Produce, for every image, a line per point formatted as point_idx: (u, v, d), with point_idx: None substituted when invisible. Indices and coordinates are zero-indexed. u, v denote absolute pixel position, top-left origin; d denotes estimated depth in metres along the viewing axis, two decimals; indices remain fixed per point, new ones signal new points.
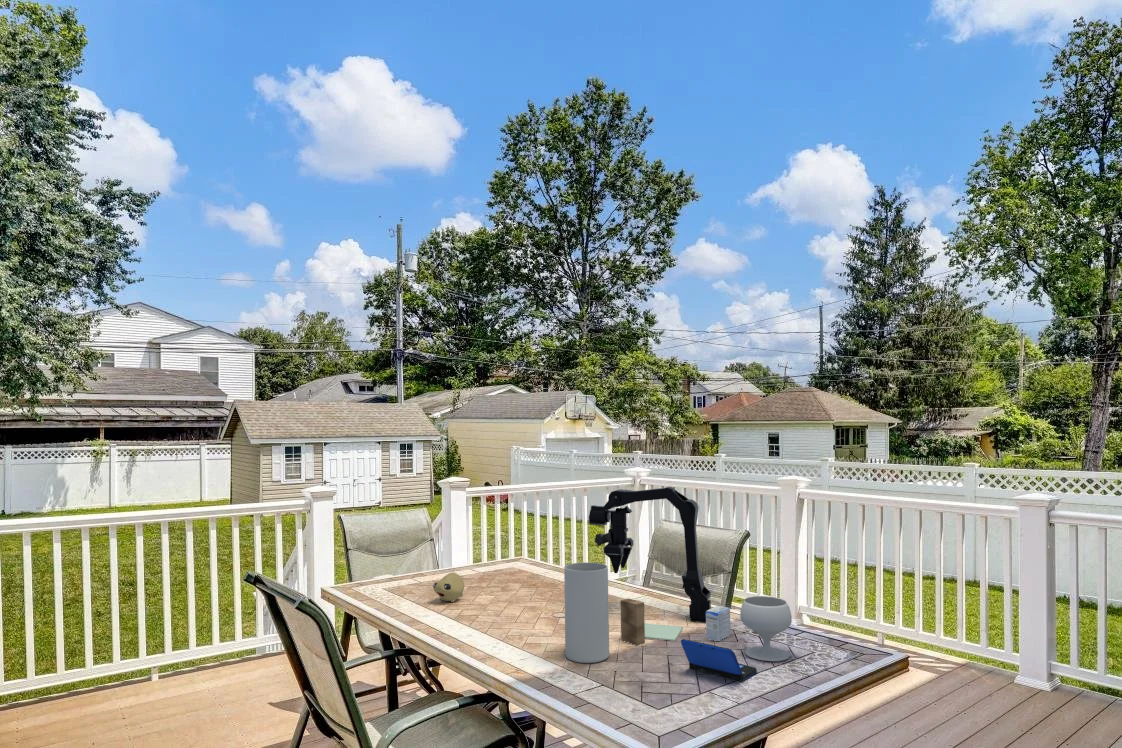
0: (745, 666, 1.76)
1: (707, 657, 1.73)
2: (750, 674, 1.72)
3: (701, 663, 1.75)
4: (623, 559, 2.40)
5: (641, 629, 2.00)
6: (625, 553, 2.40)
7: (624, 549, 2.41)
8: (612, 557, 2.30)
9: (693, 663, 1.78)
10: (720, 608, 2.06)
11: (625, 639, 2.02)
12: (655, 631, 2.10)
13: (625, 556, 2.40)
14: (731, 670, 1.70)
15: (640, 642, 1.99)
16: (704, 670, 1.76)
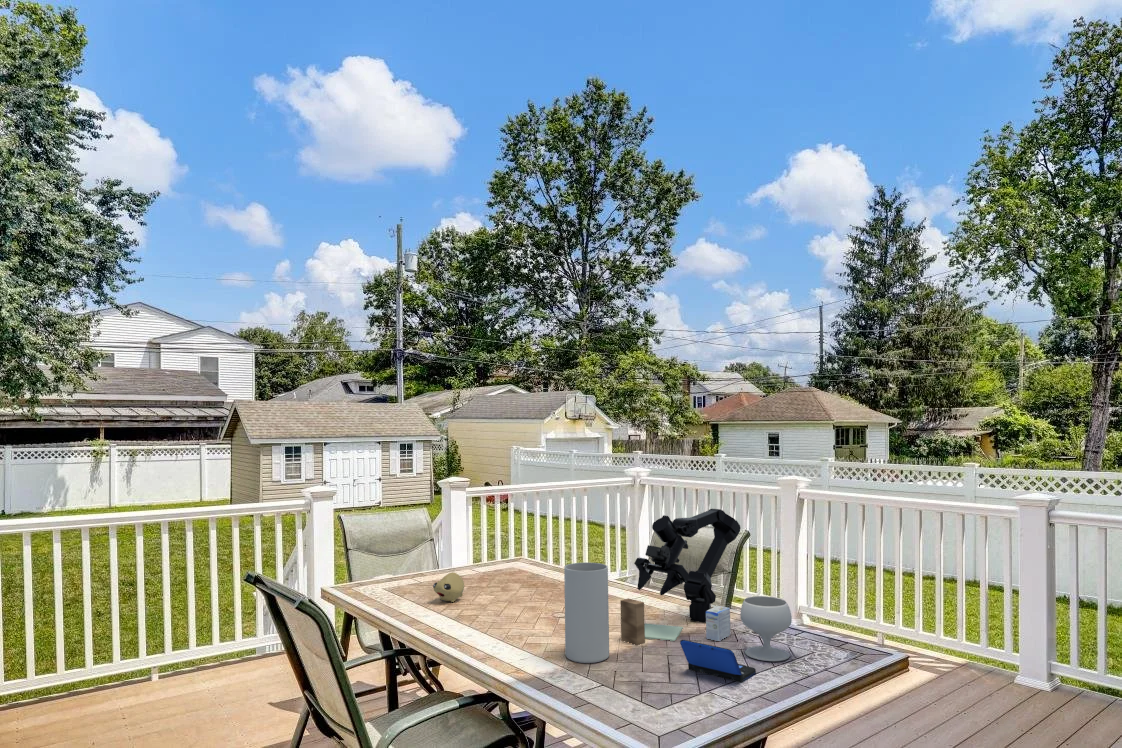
0: (744, 666, 1.76)
1: (706, 657, 1.72)
2: (749, 674, 1.72)
3: (700, 663, 1.75)
4: (643, 582, 2.14)
5: (641, 629, 2.00)
6: (646, 577, 2.15)
7: (647, 573, 2.16)
8: (671, 578, 2.07)
9: (692, 663, 1.77)
10: (720, 608, 2.06)
11: (625, 639, 2.02)
12: (655, 631, 2.10)
13: (645, 580, 2.15)
14: (730, 671, 1.70)
15: (640, 642, 1.99)
16: (703, 670, 1.75)
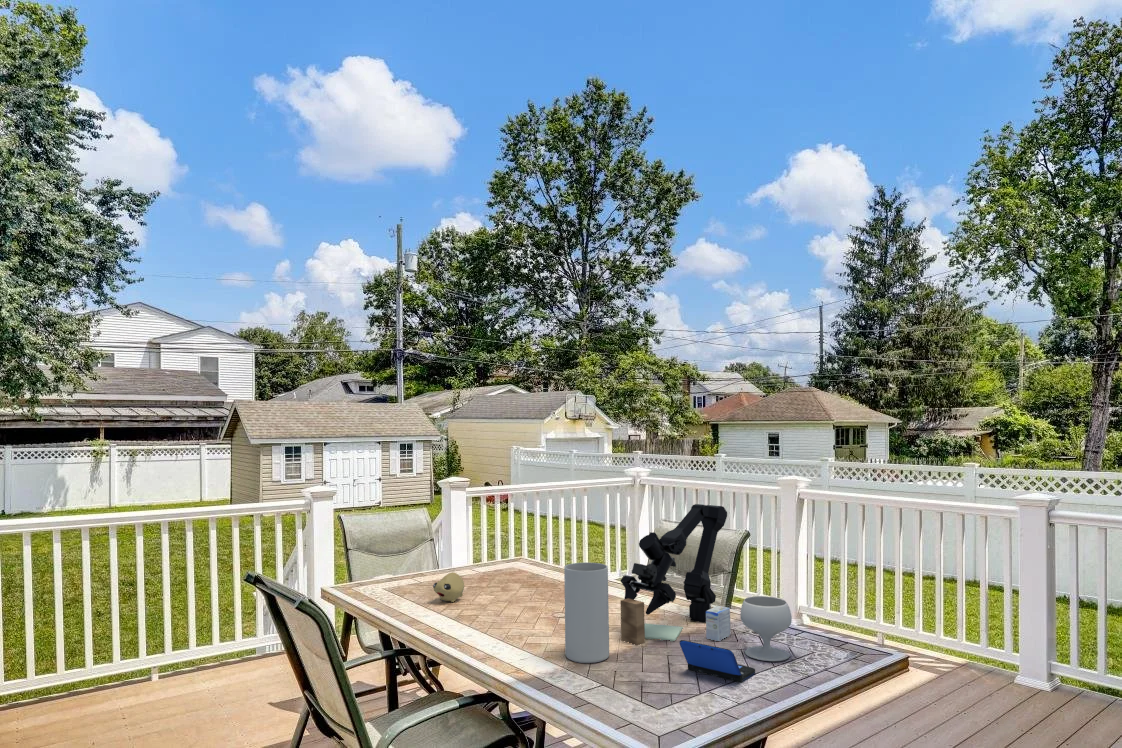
0: (744, 667, 1.76)
1: (705, 657, 1.72)
2: (749, 675, 1.71)
3: (700, 664, 1.75)
4: None
5: (641, 629, 2.00)
6: (632, 596, 2.10)
7: (633, 591, 2.11)
8: (657, 597, 2.02)
9: (692, 664, 1.77)
10: (720, 608, 2.06)
11: (625, 639, 2.02)
12: (655, 631, 2.10)
13: None
14: (730, 671, 1.69)
15: (640, 642, 1.99)
16: (703, 671, 1.75)
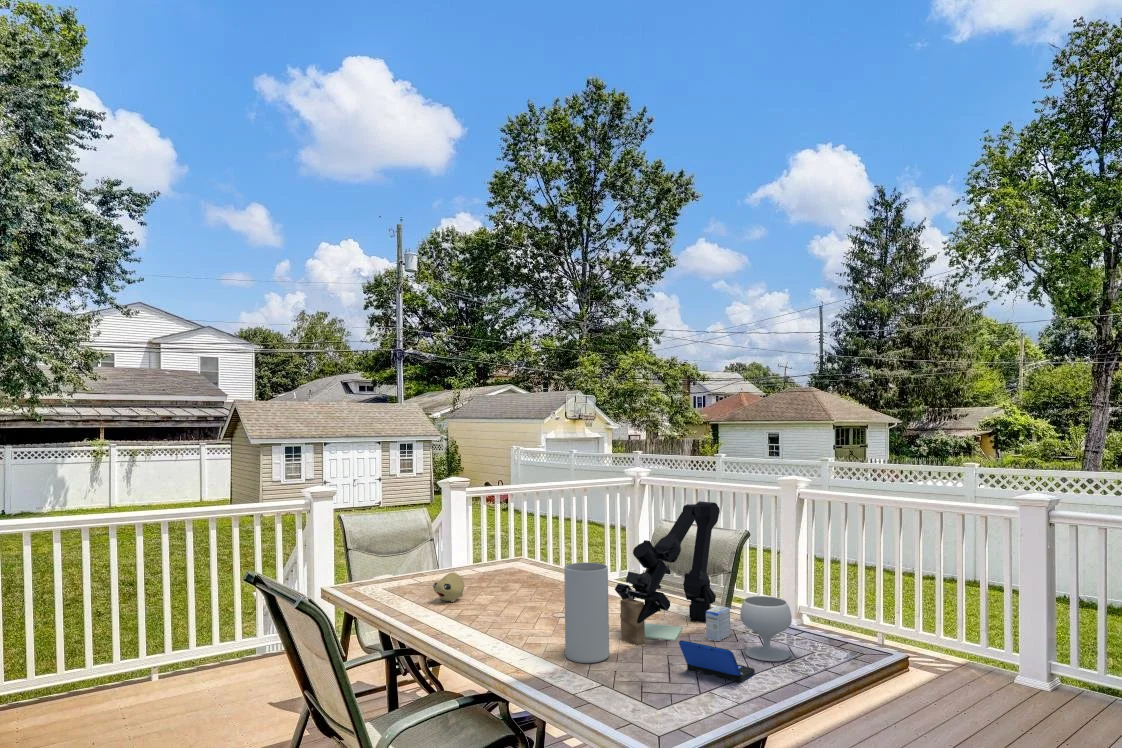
0: (743, 667, 1.76)
1: (705, 658, 1.72)
2: (748, 675, 1.71)
3: (699, 664, 1.75)
4: None
5: (641, 629, 2.00)
6: None
7: None
8: (648, 606, 2.01)
9: (691, 664, 1.77)
10: (720, 608, 2.06)
11: (625, 639, 2.02)
12: (655, 631, 2.10)
13: None
14: (729, 671, 1.69)
15: (640, 642, 1.99)
16: (702, 671, 1.75)
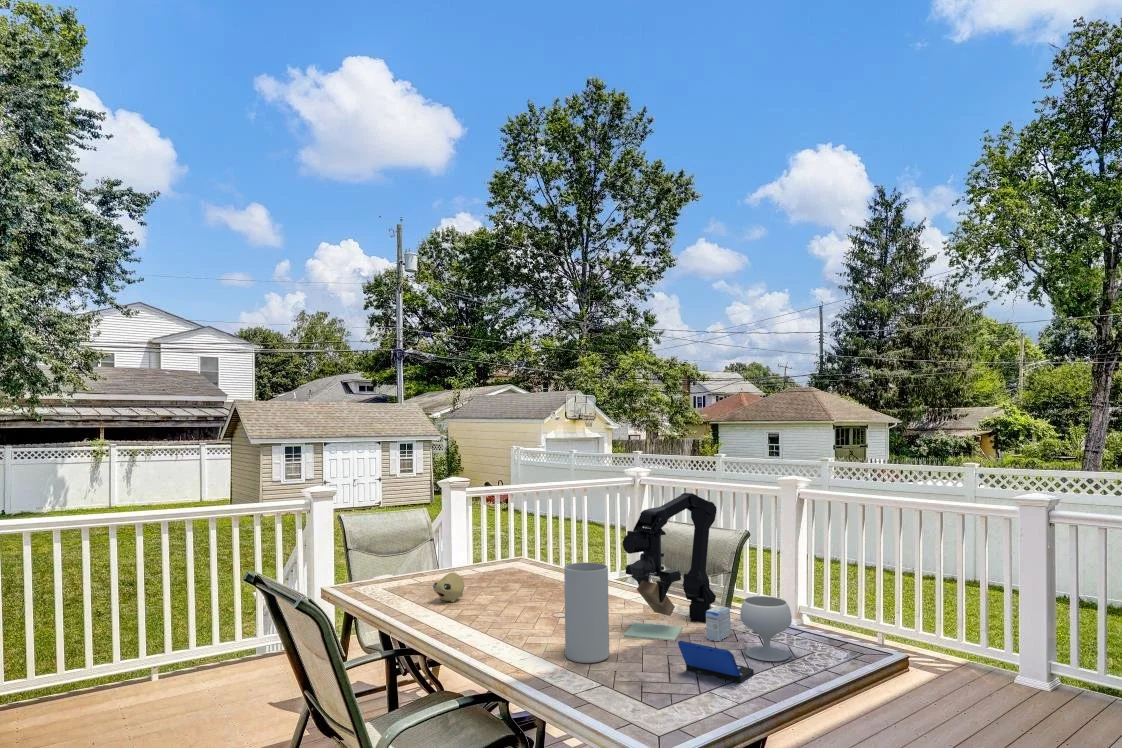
0: (742, 667, 1.75)
1: (704, 658, 1.72)
2: (748, 675, 1.71)
3: (698, 665, 1.74)
4: None
5: (666, 602, 2.11)
6: None
7: (644, 577, 2.16)
8: None
9: (690, 665, 1.76)
10: (720, 608, 2.06)
11: (657, 612, 2.15)
12: (655, 631, 2.10)
13: None
14: (729, 672, 1.69)
15: (671, 611, 2.12)
16: (701, 672, 1.74)
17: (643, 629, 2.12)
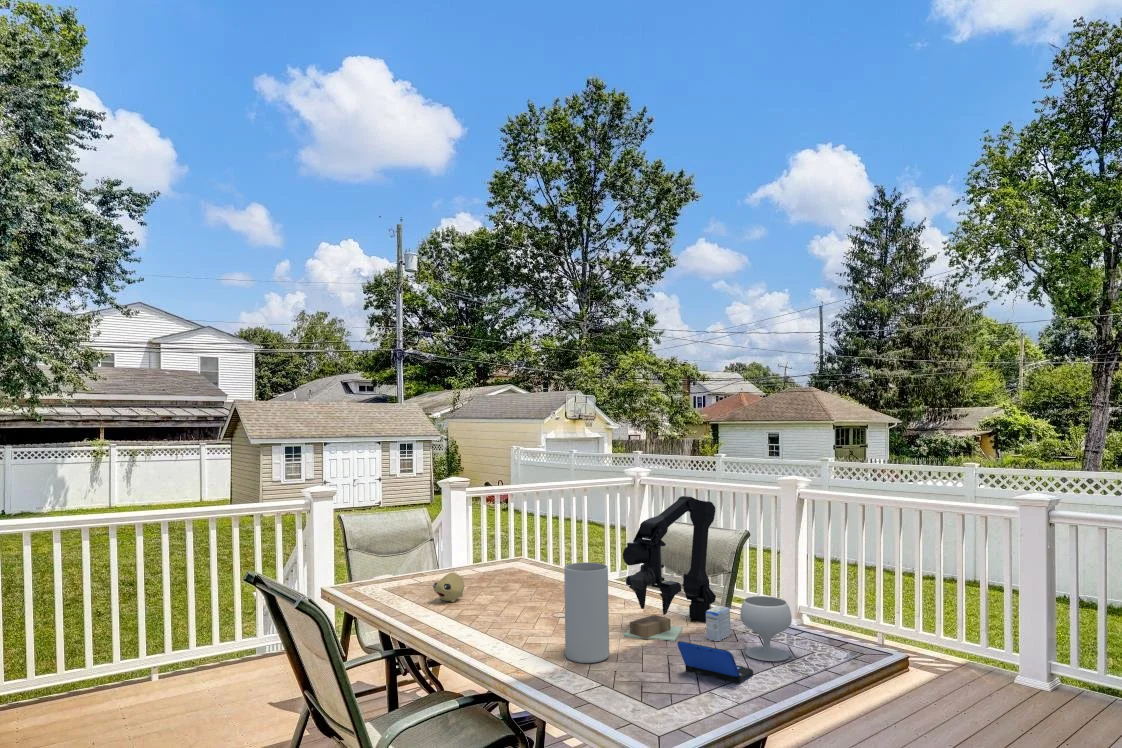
0: (741, 668, 1.75)
1: (704, 659, 1.71)
2: (747, 676, 1.71)
3: (698, 665, 1.74)
4: (643, 599, 2.15)
5: (661, 626, 2.09)
6: (643, 591, 2.16)
7: None
8: None
9: (689, 665, 1.76)
10: (720, 608, 2.06)
11: None
12: None
13: (644, 595, 2.16)
14: (728, 672, 1.69)
15: (669, 625, 2.11)
16: (701, 672, 1.74)
17: None
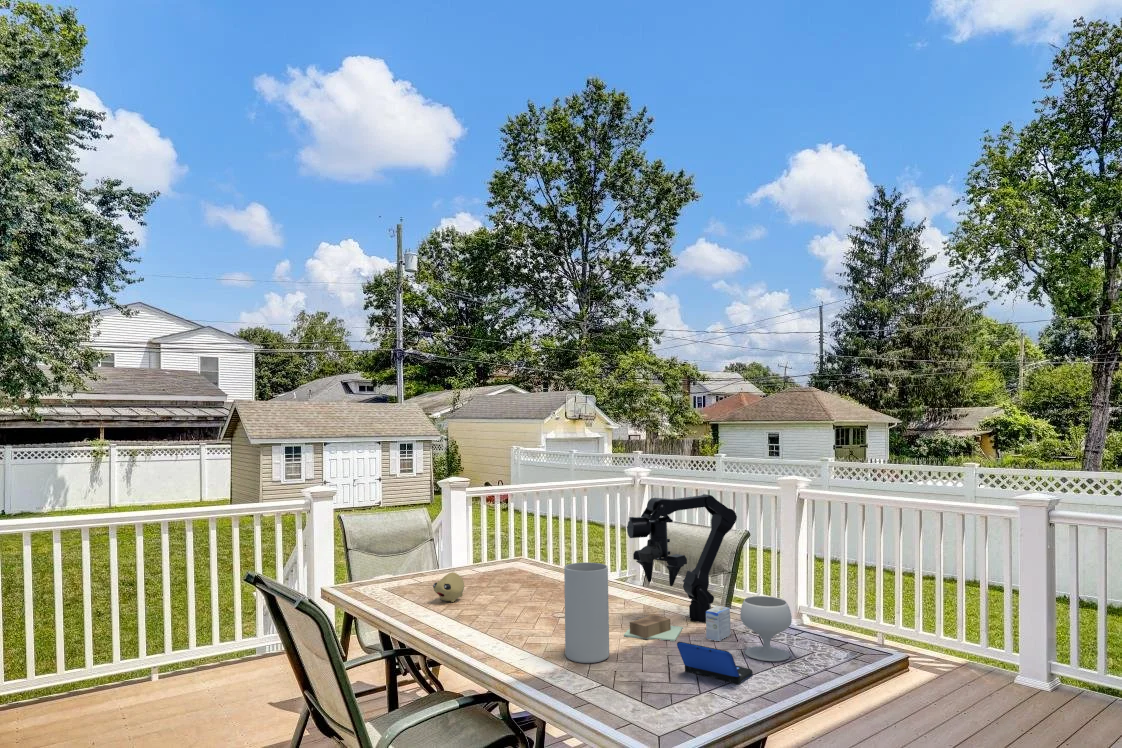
0: (741, 668, 1.75)
1: (703, 659, 1.71)
2: (747, 676, 1.71)
3: (697, 665, 1.74)
4: (649, 572, 2.26)
5: (661, 626, 2.09)
6: (650, 565, 2.26)
7: (649, 561, 2.26)
8: None
9: (689, 666, 1.76)
10: (720, 608, 2.06)
11: None
12: None
13: (650, 568, 2.26)
14: (728, 673, 1.68)
15: (669, 625, 2.11)
16: (700, 673, 1.74)
17: None
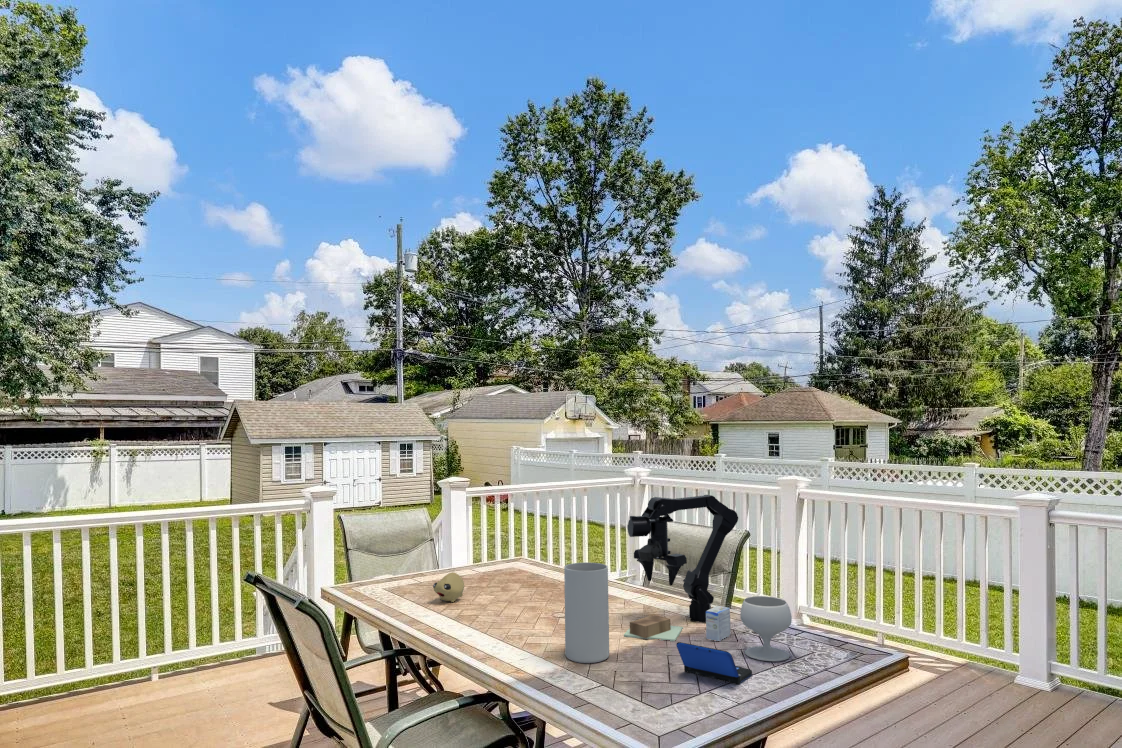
0: (740, 668, 1.75)
1: (703, 659, 1.71)
2: (746, 676, 1.70)
3: (697, 666, 1.73)
4: (650, 571, 2.26)
5: (661, 626, 2.09)
6: (650, 565, 2.27)
7: (649, 561, 2.27)
8: None
9: (688, 666, 1.75)
10: (720, 608, 2.06)
11: None
12: None
13: (651, 568, 2.27)
14: (727, 673, 1.68)
15: (669, 625, 2.11)
16: (700, 673, 1.74)
17: None
